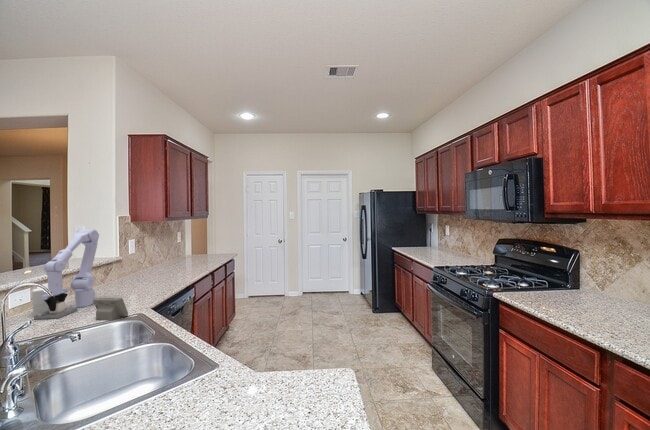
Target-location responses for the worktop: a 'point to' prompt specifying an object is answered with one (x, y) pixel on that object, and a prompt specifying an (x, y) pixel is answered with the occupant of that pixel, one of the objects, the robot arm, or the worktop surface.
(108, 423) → the worktop surface
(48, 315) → the socket plate
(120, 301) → the digital clock
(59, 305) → the plug
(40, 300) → the small box
